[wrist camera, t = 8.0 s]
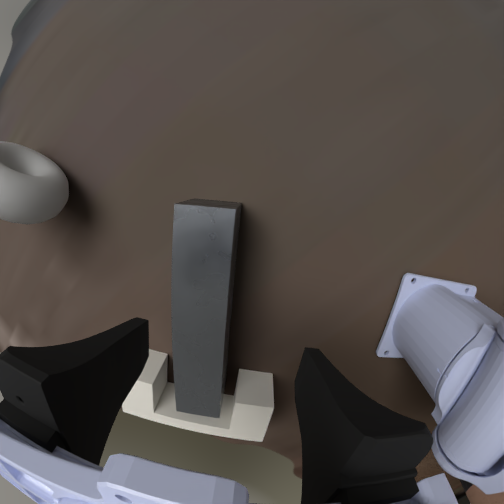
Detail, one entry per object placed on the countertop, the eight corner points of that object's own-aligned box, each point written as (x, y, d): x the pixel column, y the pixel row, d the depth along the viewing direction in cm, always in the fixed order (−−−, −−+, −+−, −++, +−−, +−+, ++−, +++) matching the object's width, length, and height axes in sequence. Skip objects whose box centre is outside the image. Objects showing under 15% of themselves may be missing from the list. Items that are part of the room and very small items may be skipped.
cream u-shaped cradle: (272, 373, 24) (274, 407, 19) (262, 408, 25) (262, 441, 20) (137, 345, 24) (117, 374, 19) (139, 382, 25) (123, 411, 20)
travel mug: (483, 442, 28) (522, 509, 9) (451, 466, 30) (484, 537, 10) (483, 428, 27) (530, 502, 8) (447, 454, 28) (486, 535, 9)
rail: (242, 202, 20) (235, 209, 16) (226, 380, 24) (219, 418, 19) (194, 198, 20) (174, 203, 16) (189, 375, 24) (176, 411, 20)
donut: (97, 185, 20) (8, 196, 10) (81, 221, 21) (-4, 249, 11) (33, 137, 19) (-45, 133, 9) (20, 169, 20) (-56, 176, 10)
